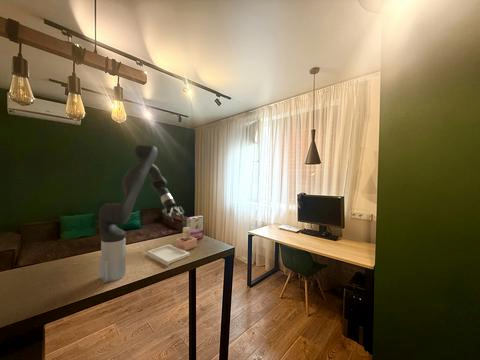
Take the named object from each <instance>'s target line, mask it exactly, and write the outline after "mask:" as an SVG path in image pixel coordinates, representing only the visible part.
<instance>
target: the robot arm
mask: <svg viewBox="0 0 480 360" xmlns="http://www.w3.org/2000/svg"><path fill="white" fill-rule="evenodd" d="M134 153H135V157H136V159H137V160H138V162H139V163H137V164H135V165H133V166H132V167H131V168H129V169H128V170H127V172H126V173H125V175H124V177H123V178H122V189H123V192H124V195H125V196H124V198H123V200H122V202H120V203H118V202H117V203H116V202H115V203H114V202H112V203H111V202H107V203H104V204H103V205H101V207H100V209H99V212H98V223H99V224H98V225H99V227H98V228H99V235H100V241H101V242H100V243H101V244H100V249H101V250H100V254H101V256H99V257H98V258H99V259H98V261H99V264H98V265H99V267H98V268H99V269H98V270H99V271H98V278H99V279H100V280H101V281H102V282H103V283H104V284H105V283H108V282H114V281H115V282H116V281H118V280H120V279H122V278H123V277H125V275H126V252H127V251H126V247H127V246H126V245H127V244H126V241H127V239H126V237H127V234H126V233H127V232H126V231H125V230H123V229H121V228H119V227H118V226H117V225H125V224H126V223H127V222H128V221H129V219H130V217H131V214H132V211H133V208H134V206H135V203H136V200H137V198H138V195H139V193H140V191H141V189H142V187H143V185H144V183H145V181H146V178H147V176H149V177H150V180H151V182H150V186H151V188H152V189H153V190H154V191H155V192H156V193H157V194H158V196H159V199H160V201H161V203H162V205H163V207H164V208H163V209H162V210H161V212H162V215H163V217H164V219H168V221H169V223H171V224H172V223H174V219H173V217H172V216H173V215H177V216H179V217H180V218H179V219H180V220H181V221H184V220H185V219H186V218H185V216H184V214H185V211H184V209H183V207H182V206H181V205H180V206H177V203H176V201H175V199H174V197H173V196H172V194H171V193H170V191H169V189H168V188H167V187H166V186H168V185H167V184H168V182H167V180H166V178H164V176H162V174H161V171H160V169H159V168H158V166H157V165H155V164H154V163H155V161H156V160H157V157H158V154H159V153H158V148H157V147H156V146H155V145H147V144H138V145H137V146H136V147H135V150H134Z"/></svg>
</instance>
